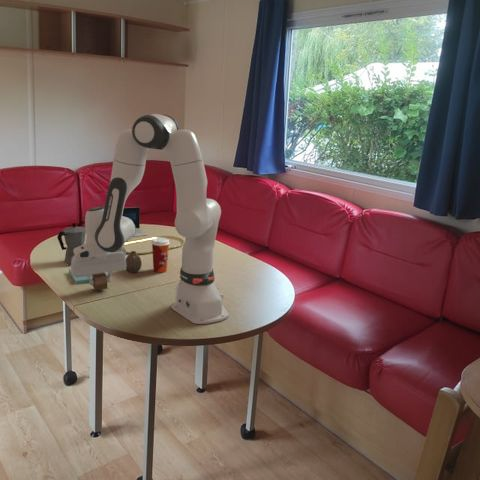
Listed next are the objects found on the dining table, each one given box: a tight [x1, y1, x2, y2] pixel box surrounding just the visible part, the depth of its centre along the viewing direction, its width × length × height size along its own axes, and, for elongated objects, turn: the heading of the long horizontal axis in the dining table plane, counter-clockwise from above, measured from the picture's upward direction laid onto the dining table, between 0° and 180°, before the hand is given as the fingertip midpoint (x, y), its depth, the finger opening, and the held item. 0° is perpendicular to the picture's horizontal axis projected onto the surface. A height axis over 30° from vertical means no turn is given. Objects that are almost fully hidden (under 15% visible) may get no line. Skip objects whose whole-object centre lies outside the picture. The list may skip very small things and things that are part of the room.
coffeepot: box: [57, 222, 87, 266], centre depth 208 cm, size 15×9×18 cm, turn 150°
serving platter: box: [122, 235, 185, 256], centre depth 239 cm, size 19×35×2 cm, turn 134°
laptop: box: [122, 206, 148, 238], centre depth 254 cm, size 18×12×13 cm
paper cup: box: [150, 238, 171, 274], centre depth 206 cm, size 8×8×14 cm
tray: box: [68, 268, 108, 285], centre depth 197 cm, size 13×13×2 cm
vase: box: [125, 250, 143, 274], centre depth 204 cm, size 7×7×9 cm
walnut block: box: [92, 273, 109, 291], centre depth 184 cm, size 4×4×5 cm
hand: (99, 283), depth 184 cm, fingers closed on walnut block, 4 cm apart
